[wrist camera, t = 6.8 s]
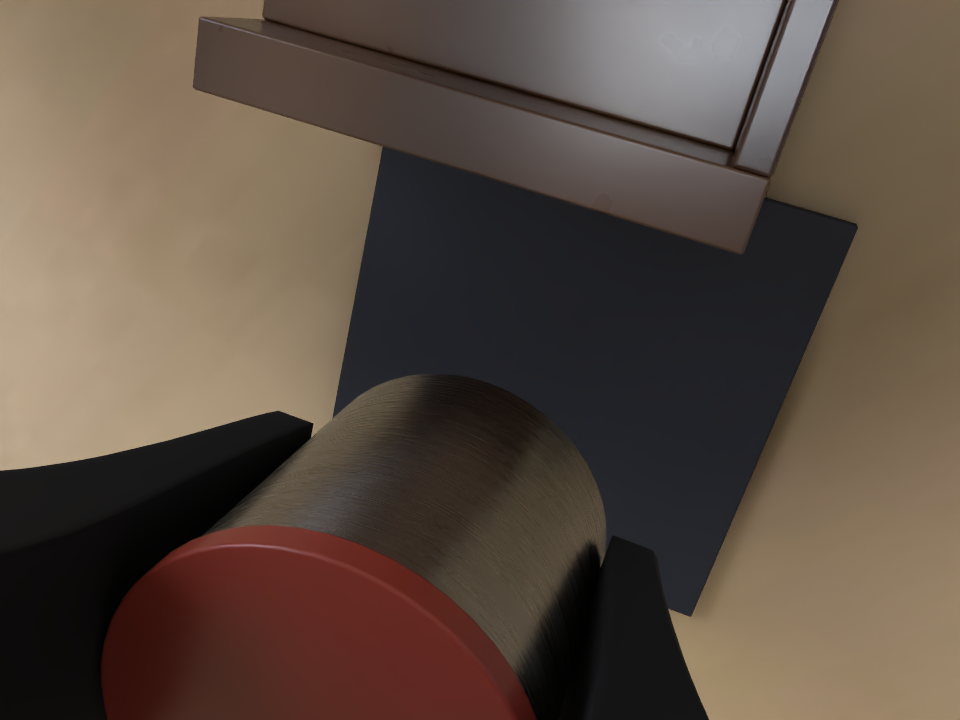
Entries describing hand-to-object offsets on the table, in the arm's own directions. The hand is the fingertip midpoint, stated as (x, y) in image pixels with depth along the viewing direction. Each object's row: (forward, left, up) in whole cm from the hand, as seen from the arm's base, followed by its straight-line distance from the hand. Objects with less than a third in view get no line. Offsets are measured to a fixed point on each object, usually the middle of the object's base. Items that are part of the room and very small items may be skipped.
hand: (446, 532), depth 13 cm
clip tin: (0, 0, 0) cm, 0 cm away
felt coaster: (0, 0, -8) cm, 8 cm away
